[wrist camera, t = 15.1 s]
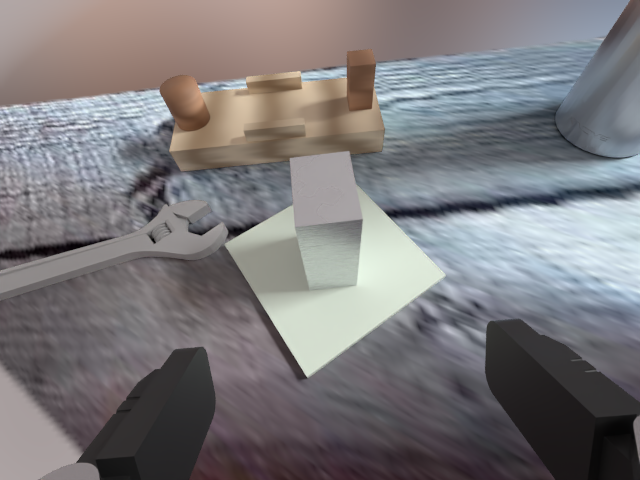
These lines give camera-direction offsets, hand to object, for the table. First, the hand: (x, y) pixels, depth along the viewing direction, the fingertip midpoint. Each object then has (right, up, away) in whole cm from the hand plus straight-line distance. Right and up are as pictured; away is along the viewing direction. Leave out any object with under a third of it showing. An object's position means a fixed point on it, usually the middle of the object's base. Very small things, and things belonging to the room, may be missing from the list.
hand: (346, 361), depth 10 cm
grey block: (0, +2, +20) cm, 20 cm away
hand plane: (-5, +16, +29) cm, 34 cm away
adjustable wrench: (-22, +2, +23) cm, 32 cm away
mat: (0, +2, +21) cm, 21 cm away
